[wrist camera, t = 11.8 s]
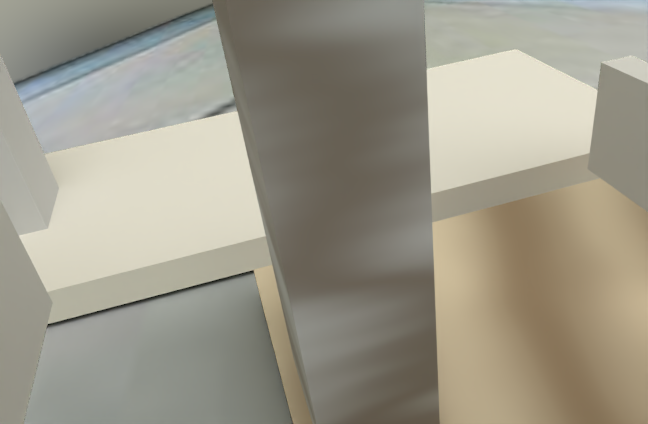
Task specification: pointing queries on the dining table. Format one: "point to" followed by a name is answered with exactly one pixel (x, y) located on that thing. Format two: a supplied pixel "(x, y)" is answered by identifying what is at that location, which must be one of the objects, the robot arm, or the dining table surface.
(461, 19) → the dining table surface
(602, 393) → the oak runner
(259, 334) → the dining table surface
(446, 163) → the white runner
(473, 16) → the dining table surface
